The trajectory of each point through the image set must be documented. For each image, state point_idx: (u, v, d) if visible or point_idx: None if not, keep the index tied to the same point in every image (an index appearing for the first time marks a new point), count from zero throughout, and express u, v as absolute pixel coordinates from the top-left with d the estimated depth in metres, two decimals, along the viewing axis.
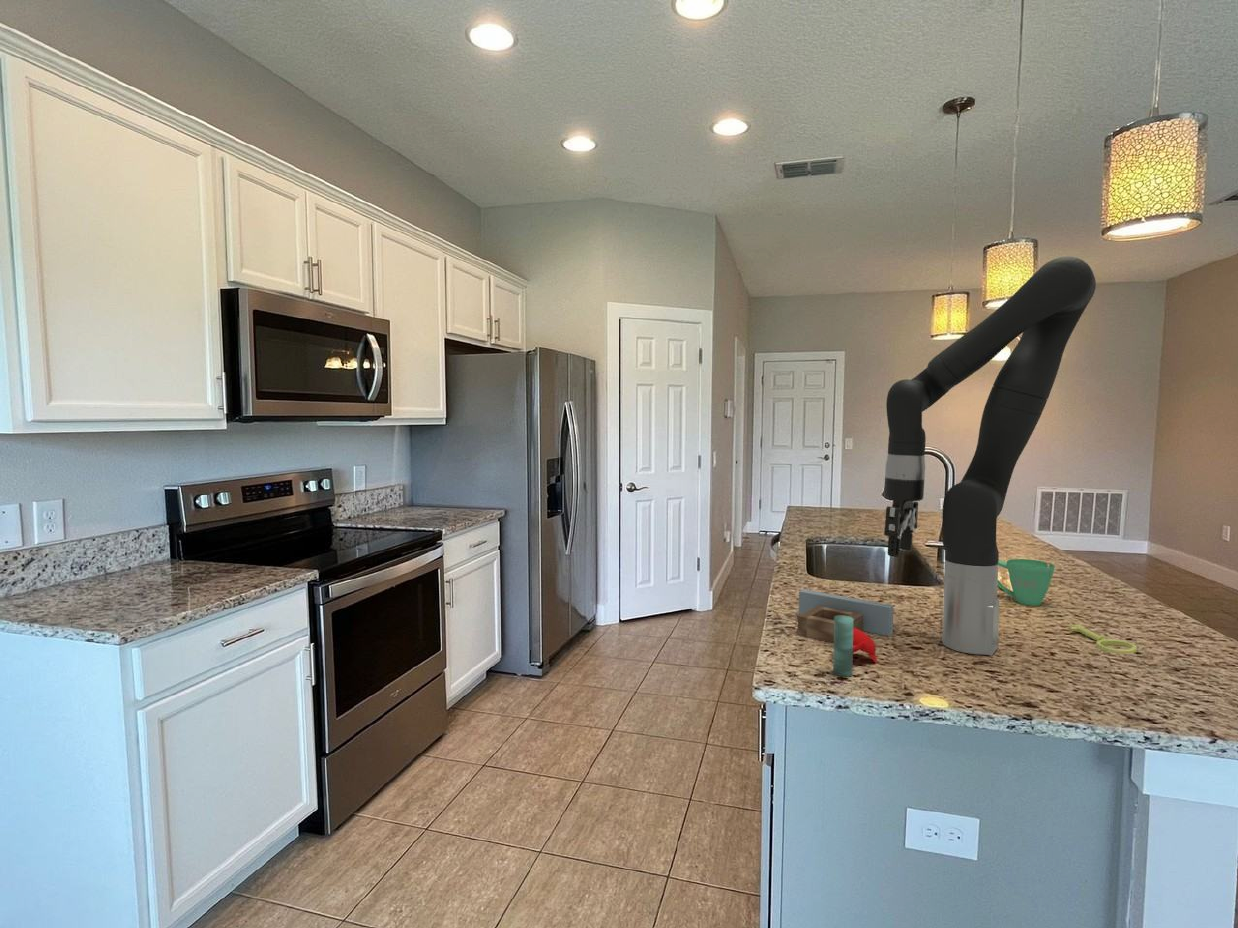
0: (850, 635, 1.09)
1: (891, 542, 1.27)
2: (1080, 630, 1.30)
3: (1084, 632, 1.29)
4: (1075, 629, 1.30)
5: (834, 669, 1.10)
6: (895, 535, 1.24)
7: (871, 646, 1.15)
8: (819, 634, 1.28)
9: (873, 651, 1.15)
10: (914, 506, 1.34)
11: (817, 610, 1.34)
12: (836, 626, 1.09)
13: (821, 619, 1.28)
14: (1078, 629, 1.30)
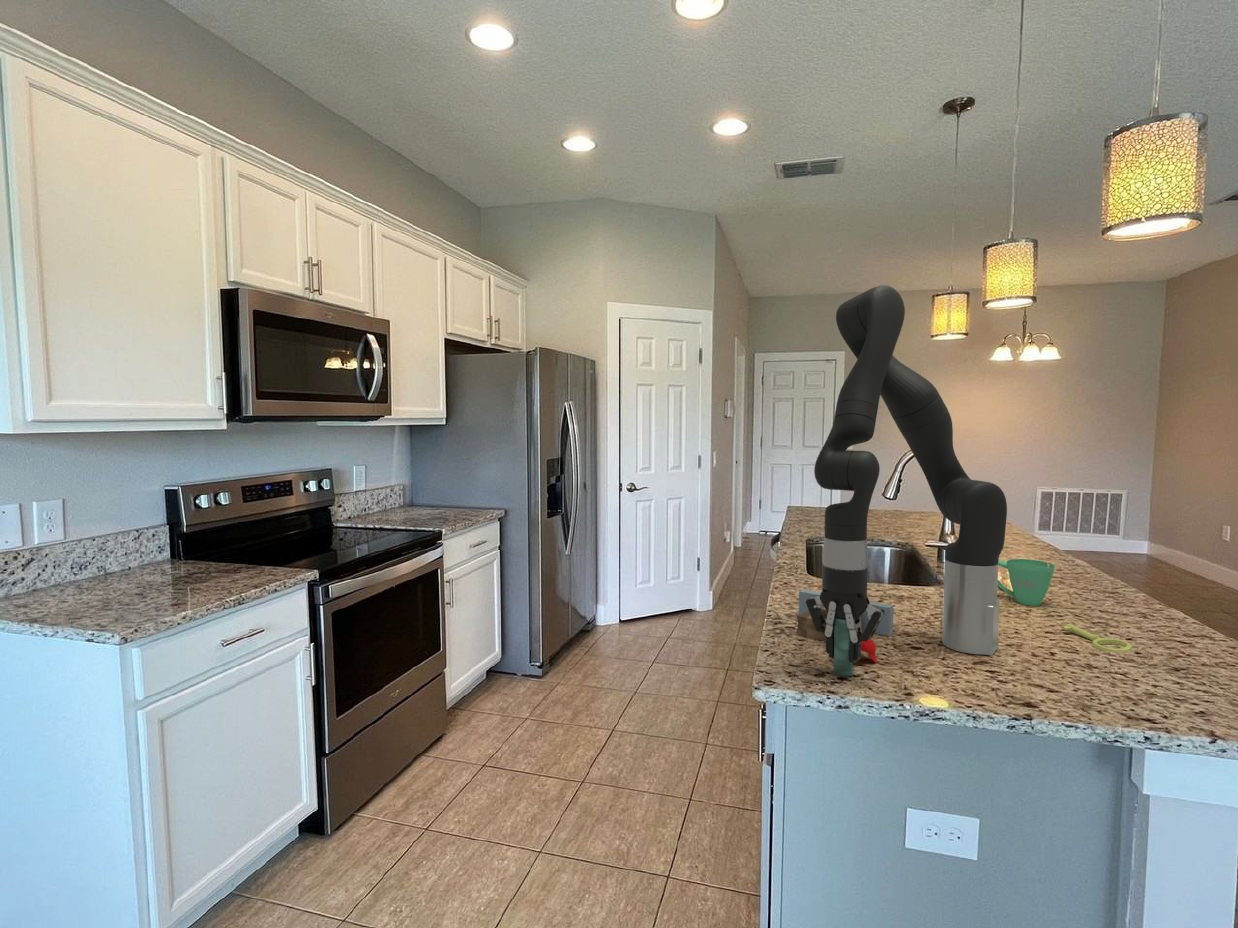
0: None
1: (858, 646, 1.08)
2: (1073, 629, 1.30)
3: (1077, 631, 1.29)
4: (1068, 628, 1.31)
5: (834, 669, 1.10)
6: (872, 636, 1.08)
7: (871, 646, 1.15)
8: (819, 634, 1.28)
9: (873, 651, 1.15)
10: None
11: None
12: (836, 626, 1.09)
13: None
14: (1071, 628, 1.31)
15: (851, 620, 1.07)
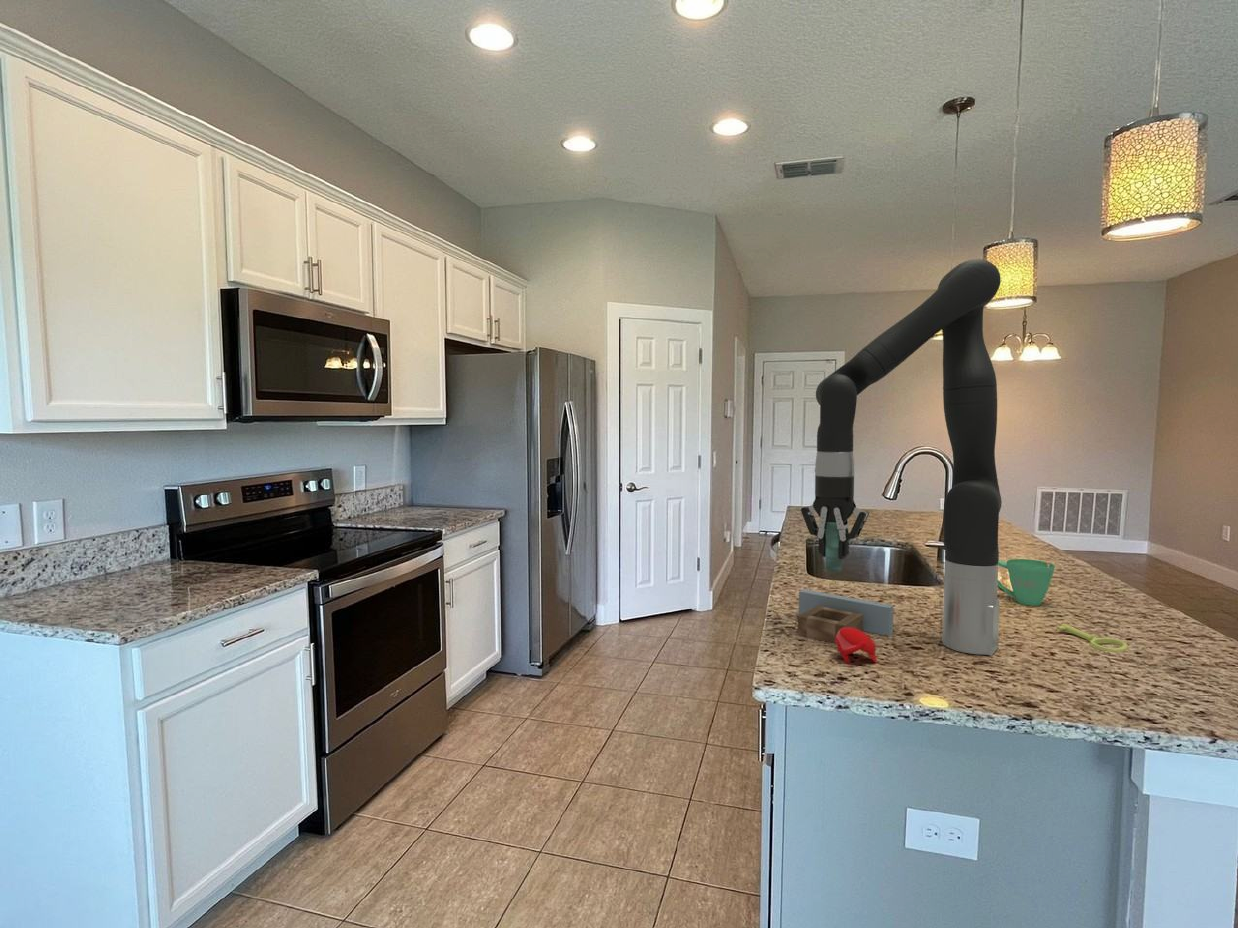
0: None
1: (846, 545, 1.25)
2: (1068, 629, 1.30)
3: (1073, 631, 1.29)
4: (1063, 628, 1.31)
5: (826, 566, 1.27)
6: (858, 535, 1.25)
7: (871, 646, 1.15)
8: (819, 634, 1.28)
9: (873, 651, 1.15)
10: None
11: (817, 610, 1.34)
12: (827, 528, 1.26)
13: (821, 619, 1.28)
14: (1066, 628, 1.31)
15: (840, 521, 1.24)
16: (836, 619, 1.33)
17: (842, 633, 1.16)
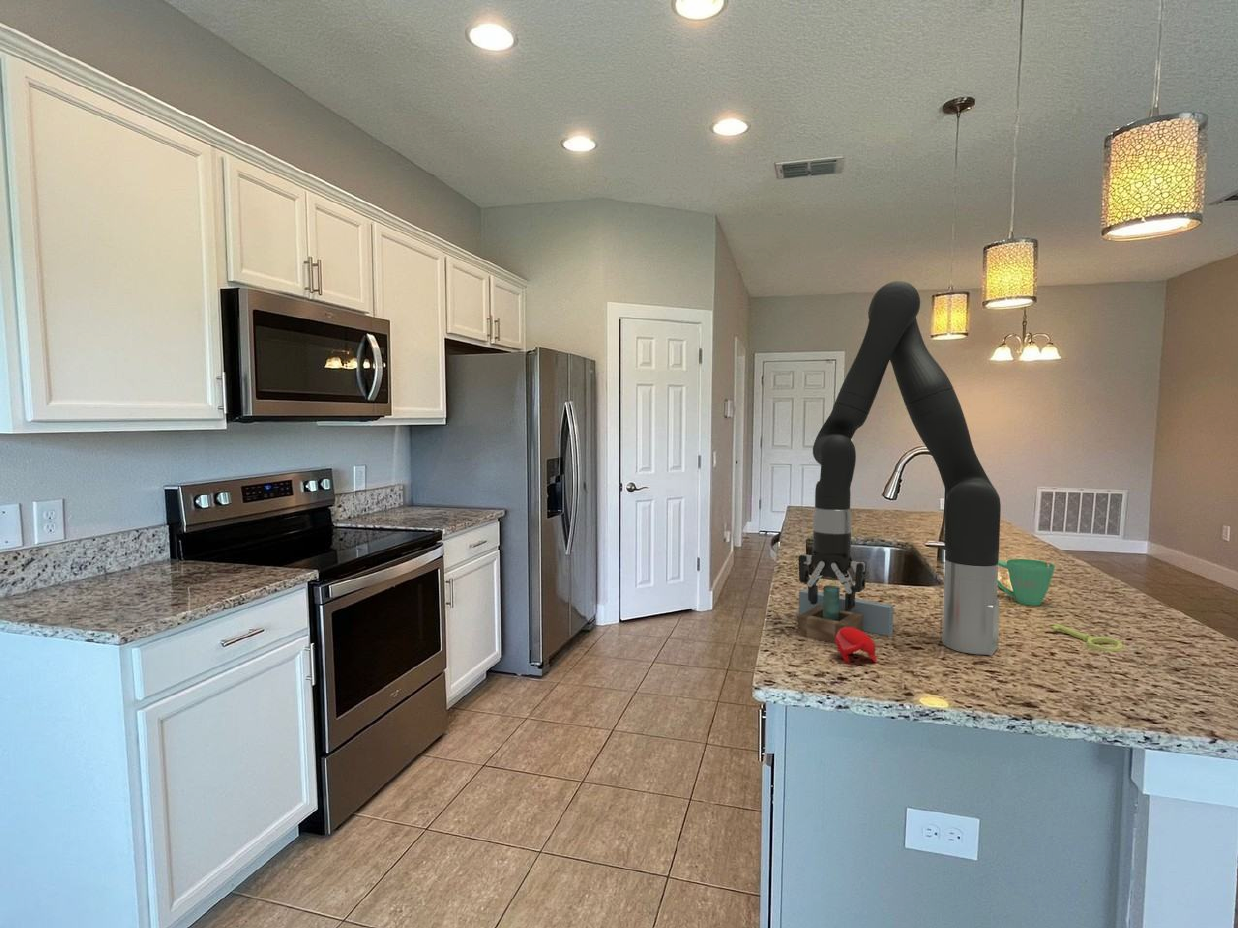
0: (837, 601, 1.29)
1: (852, 597, 1.28)
2: (1062, 629, 1.31)
3: (1067, 631, 1.30)
4: (1057, 628, 1.31)
5: None
6: (864, 588, 1.27)
7: (871, 646, 1.15)
8: (819, 634, 1.28)
9: (873, 651, 1.15)
10: None
11: (817, 610, 1.34)
12: (825, 594, 1.30)
13: (821, 619, 1.28)
14: (1060, 628, 1.31)
15: (841, 575, 1.27)
16: None
17: (842, 633, 1.16)
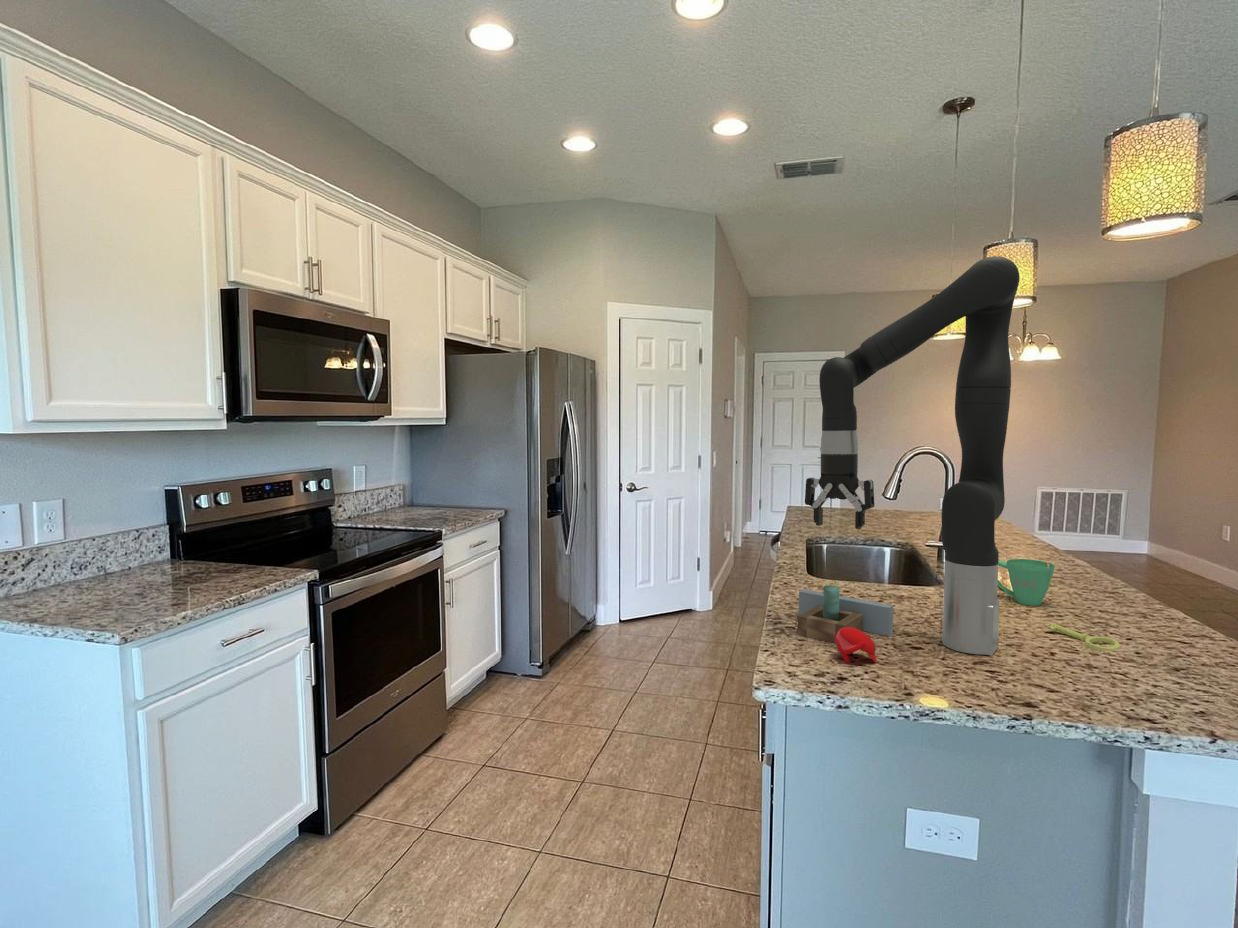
0: (837, 601, 1.29)
1: None
2: (1058, 629, 1.31)
3: (1064, 631, 1.30)
4: (1054, 628, 1.31)
5: None
6: (873, 506, 1.30)
7: (871, 646, 1.15)
8: (819, 634, 1.28)
9: (873, 651, 1.15)
10: None
11: (817, 610, 1.34)
12: (825, 594, 1.30)
13: (821, 619, 1.28)
14: (1056, 628, 1.31)
15: (849, 494, 1.30)
16: None
17: (842, 633, 1.16)
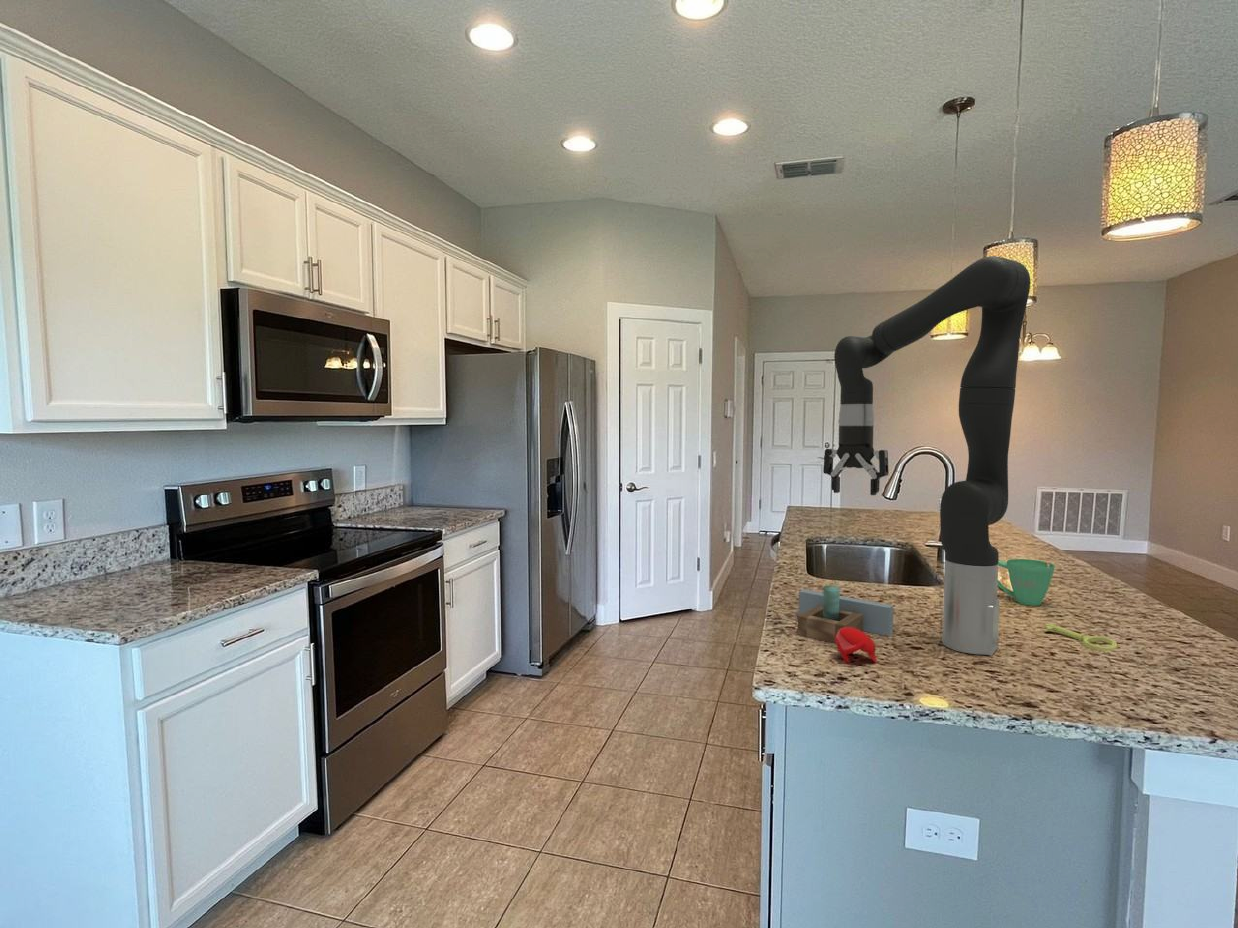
0: (837, 601, 1.29)
1: None
2: (1055, 629, 1.31)
3: (1061, 631, 1.30)
4: (1051, 628, 1.31)
5: None
6: (887, 474, 1.40)
7: (871, 646, 1.15)
8: (819, 634, 1.28)
9: (873, 651, 1.15)
10: None
11: (817, 610, 1.34)
12: (825, 594, 1.30)
13: (821, 619, 1.28)
14: (1053, 628, 1.31)
15: (865, 463, 1.41)
16: None
17: (842, 633, 1.16)
